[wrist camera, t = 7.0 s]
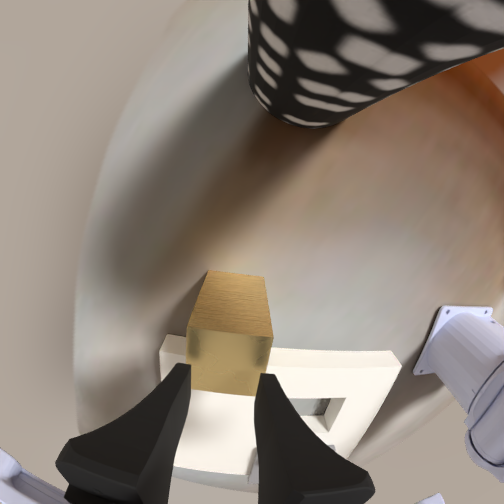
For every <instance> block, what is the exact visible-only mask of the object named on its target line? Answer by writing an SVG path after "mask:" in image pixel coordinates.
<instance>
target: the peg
mask: <svg viewBox="0 0 504 504" xmlns="http://www.w3.org/2000/svg"><path fill="white" fill-rule="evenodd" d="M272 342H273V331H272V325H271V318H270V312H269V306H268V300H267V293H266V287H265V281H264V277H260V276H252V275H243V274H235V273H228V272H220V271H212V270H208V273H207V275H206V278H205V280H204V283H203V286H202V288H201V291H200V293H199V296H198V298H197V301H196V304H195V306H194V309H193V311H192V314H191V317H190V319H189V322H188V325H187V332H186V364H190V365H191V389H194V390H201V391H208V392H215V393H223V394H232V395H242V396H254V397H256V392H257V388H258V383H259V378H260V374H261V373H266V370H267V365H268V361H269V356H270V352H271V347H272Z"/></svg>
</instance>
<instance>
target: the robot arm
mask: <svg viewBox="0 0 504 504" xmlns="http://www.w3.org/2000/svg"><path fill="white" fill-rule="evenodd" d="M446 311H447V312H446ZM492 311H493V309H492V308H491V307H470V306H442V307H441V308H440V310H439V312H438V315H437V318H436V320H435V323H434V325H433V328H432V330H431V333H430V335H429V337H428V340H427V342H426V344H425V347H424V349H423V351H422V353H421V355H420V358H419V360H418V362H417V364H416V366H415V368H414V370H413V374H414V375H423V374H430V373H436V375H437V376H438V377H439V378H440V380H441V381H442V382H443V383H444V385H445V386H446V387H447V388H448V390H449V391H450V392H451V393H452V395H453V396H454V397H455V399H456V400H457V401H458V402H459V404H460V405H461V406H462V408H463V409H464V410H465V412H466V413H467V414H468V416H467V418H466V419H465V421H464V423H465V424H466V425H467V427H468V430H467V431H466V434H465V444H466V450H467V453H468V454H469V457H470V458H471V459H472V461H473V462H474V463H475V464H476V465H478V466H479V467H481V468H483V469H485V470H487V471H489V472H490V473H491V474H493V475H494V476H495V477H496V478H497V479H498V480H499V481H500V482H502V483H503V482H504V327H503V326H502V325H501V324H499V323H498V322H497V321H495V320H494V319H493V318H491V314H492ZM190 398H191V365H190V364H184V363H176V364H175V366H174V367H173V368H172V370H171V371H170V372H169V373H168V375H167V376H166V377H165V378H164V379H163V380H162V382H161V383H160V384H159V385H158V386H157V387H156V388H155V389H154V390H153V391H152V392H151V393H150V394H149V395H148V396H147V397H145V398H144V399H143V400H142V401H141V402H140V403H139V404H137V405H136V406H135V407H134V408H132V409H131V410H129V411H128V412H127V413H125V414H124V415H122V416H121V417H119V418H117V419H116V420H114V421H112V422H111V423H109V424H107V425H105V426H103V427H100V428H98V429H96V430H94V431H92V432H89V433H87V434H84V435H81V436H78V437H75V438H71V439H69V441H68V442H67V443H66V444H65V446H64V448H63V449H62V451H61V453H60V454H59V456H58V458H57V460H56V462H55V464H56V467H57V469H58V470H59V472H60V473H61V474H62V476H63V477H64V478H65V479H66V480H67V482H68V483H69V486H68V488H67V491H66V492H64V491H62V490H60V489H58V488H57V487H55V486H52V485H51V484H49V483H47V482H45V481H44V480H42V479H40V478H38V477H37V476H35V475H33V474H32V473H30V472H28V471H27V470H25V469H24V468H22V467H21V465H20V463H19V462H18V461H17V460H16V459H15V458H14V457H12V456H11V455H10V454H8V453H7V452H6V451H4V450H3V449H1V448H0V502H1V503H2V504H168V497H169V489H170V482H171V476H172V470H173V464H174V459H175V454H176V450H177V447H178V444H179V441H180V437H181V434H182V431H183V428H184V424H185V421H186V418H187V415H188V409H189V404H190ZM254 428H255V437H256V446H257V454H258V465H259V492H258V495H259V496H258V497H259V498H258V504H364V503H365V502H366V501H368V500H369V499H370V498H371V497H372V496H373V495H374V493H375V487H374V484H373V482H372V479H371V477H370V476H369V473H368V472H367V471H366V470H364V469H362V468H360V467H358V466H357V465H355V464H353V463H351V462H350V461H348V460H346V459H345V458H343V457H342V456H341V455H339V454H338V453H336V452H335V451H334V450H333V449H331V448H330V447H329V446H328V445H327V444H325V443H324V442H323V441H322V440H321V439H320V438H319V437H318V436H317V435H316V434H315V433H314V432H313V431H312V430H311V429H310V428H309V426H308V425H307V424H306V423H305V422H304V420H303V419H302V418H301V417H300V415H299V414H298V413H297V411H296V410H295V408H294V407H293V405H292V404H291V402H290V401H289V399H288V397H287V396H286V394H285V392H284V391H283V389H282V387H281V385H280V383H279V381H278V379H277V377H276V375H275V374H269V373H261V374H260V378H259V383H258V388H257V392H256V397H255V401H254ZM415 504H445V502H444V500H443V498H442V496H441V494H440V493H437V494H435V495H432V496H430V497H428V498H425V499H423V500H421V501H419V502H417V503H415Z"/></svg>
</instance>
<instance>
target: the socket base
mask: <svg viewBox="0 0 504 504" xmlns="http://www.w3.org/2000/svg"><path fill="white" fill-rule="evenodd" d="M159 355H160V372H161V382H162V380H163V379H164V378H165V377H166V376H167V375H168V373H169V372H170V371H171V370H172V368H173V367H174V366H175V364H176V363H184V364H186V337H183V336H177V335H171V334H167V336H166V338H165V340H164V342H163V344H162V346H161V349H160V351H159ZM401 367H402V365H401V364H400V362H399V361H398V360H397V358H396V357H395V356H394V354H393V353H392V352H391V351H324V350H302V349H286V348H273V347H271V352H270V356H269V361H268V365H267V370H266V373H269V374H275V375H276V377H277V379H278V381H279V383H280V385H281V387H282V389H283V391H284V392H285V394H286V396H287V397H288V399H289V398H331V400H330V403H329V405H328V407H327V409H326V411H325V414H324V415H317V416H300V417H301V418H302V419H303V420H304V422H305V423H306V424H307V425H308V426H309V428H310V429H311V430H312V431H313V432H314V433H315V434H316V435H317V436H318V437H319V438H320V439H321V440H322V441H323V442H324V443H325V444H327V445H334V446H335V449H336V451H335V452H336V453H338V454H339V455H341V456H342V457H343V458H345V459H347V458H348V457H349V455H350V454H351V452H352V451H353V450H354V448H355V447H356V445H357V444H358V442H359V441H360V439H361V438H362V436H363V435H364V433H365V432H366V430H367V429H368V427H369V425H370V424H371V422H372V421H373V419H374V417H375V416H376V414H377V412H378V411H379V409H380V407H381V405H382V404H383V402H384V400H385V398H386V396H387V395H388V393H389V391H390V389H391V387H392V385H393V383H394V381H395V379H396V377H397V375H398V373H399V371H400V369H401ZM254 401H255V397H254V396H242V395H232V394H223V393H215V392H208V391H201V390H194V389H191V398H190V404H189V409H188V415H187V418H186V421H185V424H184V428H183V431H182V434H181V437H180V441H179V444H178V447H177V450H176V454H175V459H174V464H173V466H177V467H183V468H188V469H195V470H202V471H209V472H218V473H228V474H242V475H249V473H250V470H251V467H252V464H253V461H254V458H255V455H256V451H257V446H256V437H255V428H254Z"/></svg>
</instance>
